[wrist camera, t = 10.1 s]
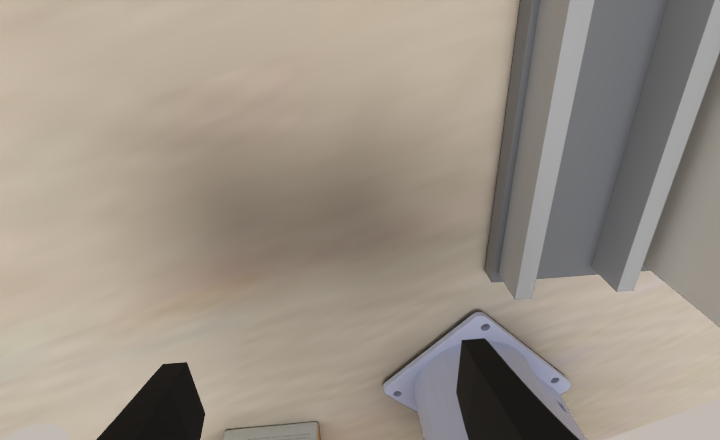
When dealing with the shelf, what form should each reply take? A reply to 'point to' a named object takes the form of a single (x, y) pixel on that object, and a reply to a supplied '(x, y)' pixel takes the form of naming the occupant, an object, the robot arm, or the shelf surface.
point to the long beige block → (694, 214)
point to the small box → (276, 432)
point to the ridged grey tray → (595, 134)
